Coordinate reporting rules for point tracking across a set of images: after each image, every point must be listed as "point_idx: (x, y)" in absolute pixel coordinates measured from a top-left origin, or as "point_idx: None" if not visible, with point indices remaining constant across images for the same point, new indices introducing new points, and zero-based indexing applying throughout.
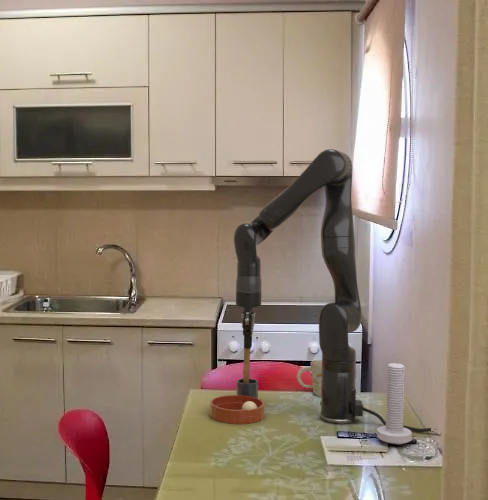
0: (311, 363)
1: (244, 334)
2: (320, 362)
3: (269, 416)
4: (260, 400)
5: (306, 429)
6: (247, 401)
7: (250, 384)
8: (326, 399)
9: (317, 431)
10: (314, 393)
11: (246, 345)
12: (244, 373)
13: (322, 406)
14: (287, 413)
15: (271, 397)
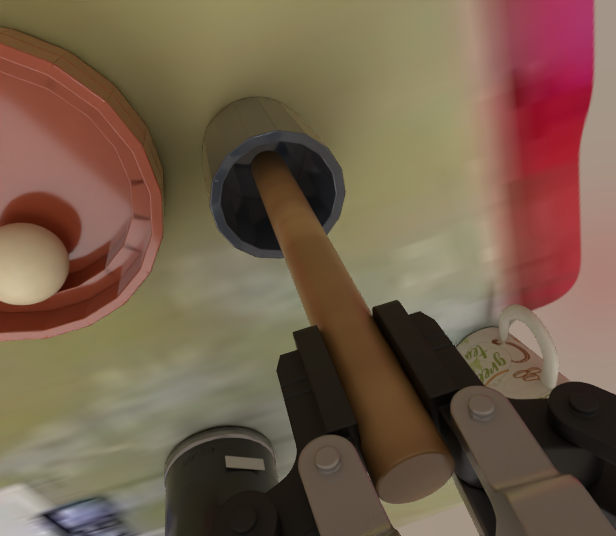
0: None
1: (221, 524)
2: None
3: None
4: (115, 299)
5: (53, 439)
6: (13, 272)
7: (223, 235)
8: (170, 525)
9: (57, 465)
10: (470, 337)
11: (279, 380)
12: (270, 208)
13: (187, 480)
14: (203, 336)
15: (399, 216)
